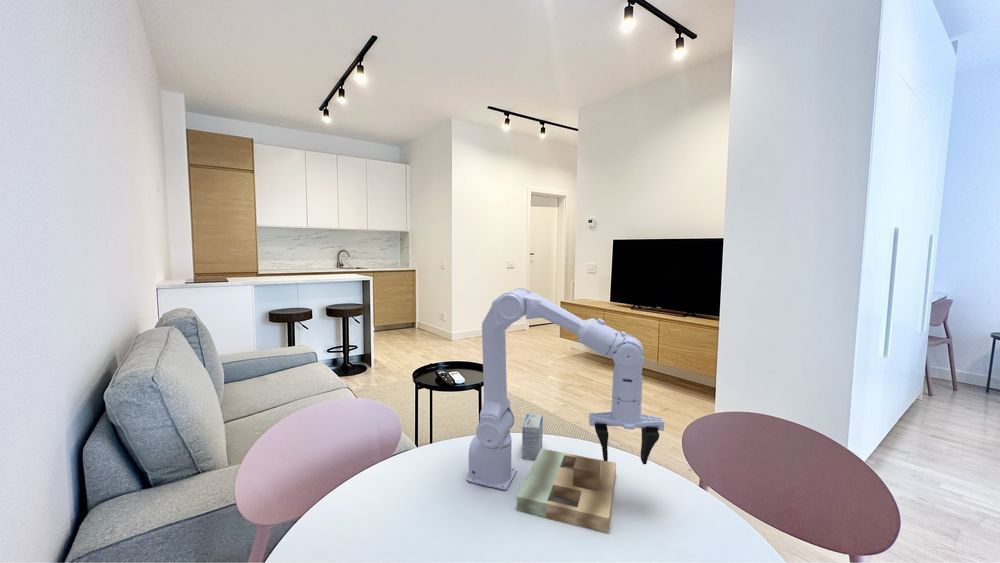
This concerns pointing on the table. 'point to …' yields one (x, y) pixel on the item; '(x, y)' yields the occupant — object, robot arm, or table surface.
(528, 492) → the board
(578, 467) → the walnut block
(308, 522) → the table surface
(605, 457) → the robot arm
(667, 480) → the table surface
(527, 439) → the medicine box
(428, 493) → the table surface
